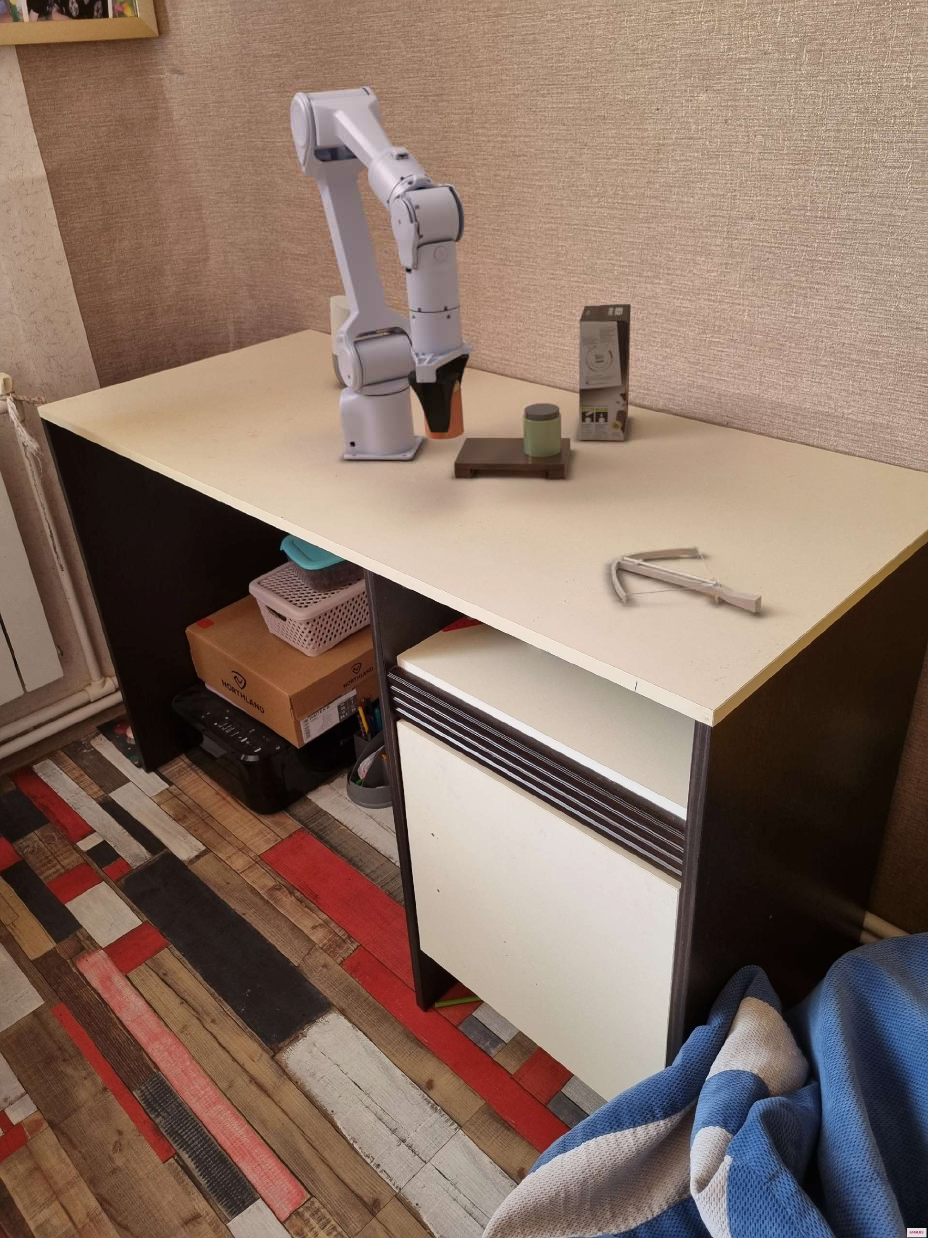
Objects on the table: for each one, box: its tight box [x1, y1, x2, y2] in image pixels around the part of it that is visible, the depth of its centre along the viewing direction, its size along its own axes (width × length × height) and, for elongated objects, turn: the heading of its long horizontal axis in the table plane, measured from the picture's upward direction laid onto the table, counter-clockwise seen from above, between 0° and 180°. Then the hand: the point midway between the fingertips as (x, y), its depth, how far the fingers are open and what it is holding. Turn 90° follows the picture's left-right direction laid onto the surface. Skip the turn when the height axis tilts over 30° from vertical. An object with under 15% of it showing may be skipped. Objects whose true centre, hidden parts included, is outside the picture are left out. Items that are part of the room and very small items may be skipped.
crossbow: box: [610, 545, 762, 614], centre depth 93 cm, size 16×13×2 cm
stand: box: [453, 437, 572, 480], centre depth 123 cm, size 14×9×2 cm, turn 80°
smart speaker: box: [329, 294, 385, 387], centre depth 154 cm, size 10×9×14 cm
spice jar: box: [423, 380, 465, 441], centre depth 111 cm, size 5×5×6 cm
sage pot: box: [522, 402, 562, 457], centre depth 120 cm, size 5×5×6 cm
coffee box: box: [578, 303, 632, 442], centre depth 128 cm, size 9×6×16 cm
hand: (443, 423), depth 112 cm, fingers closed on spice jar, 4 cm apart
